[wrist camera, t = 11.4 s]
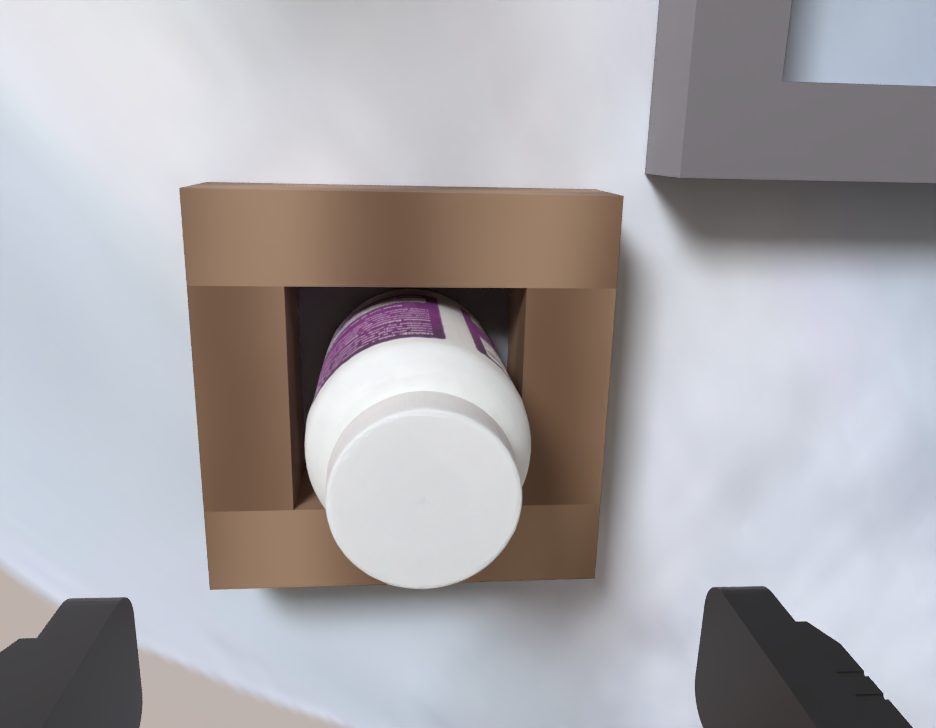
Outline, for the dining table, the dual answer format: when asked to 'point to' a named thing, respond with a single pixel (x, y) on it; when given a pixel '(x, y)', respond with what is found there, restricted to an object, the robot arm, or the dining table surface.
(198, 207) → the dock
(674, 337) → the dining table surface
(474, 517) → the pill bottle
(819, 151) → the grey square frame
